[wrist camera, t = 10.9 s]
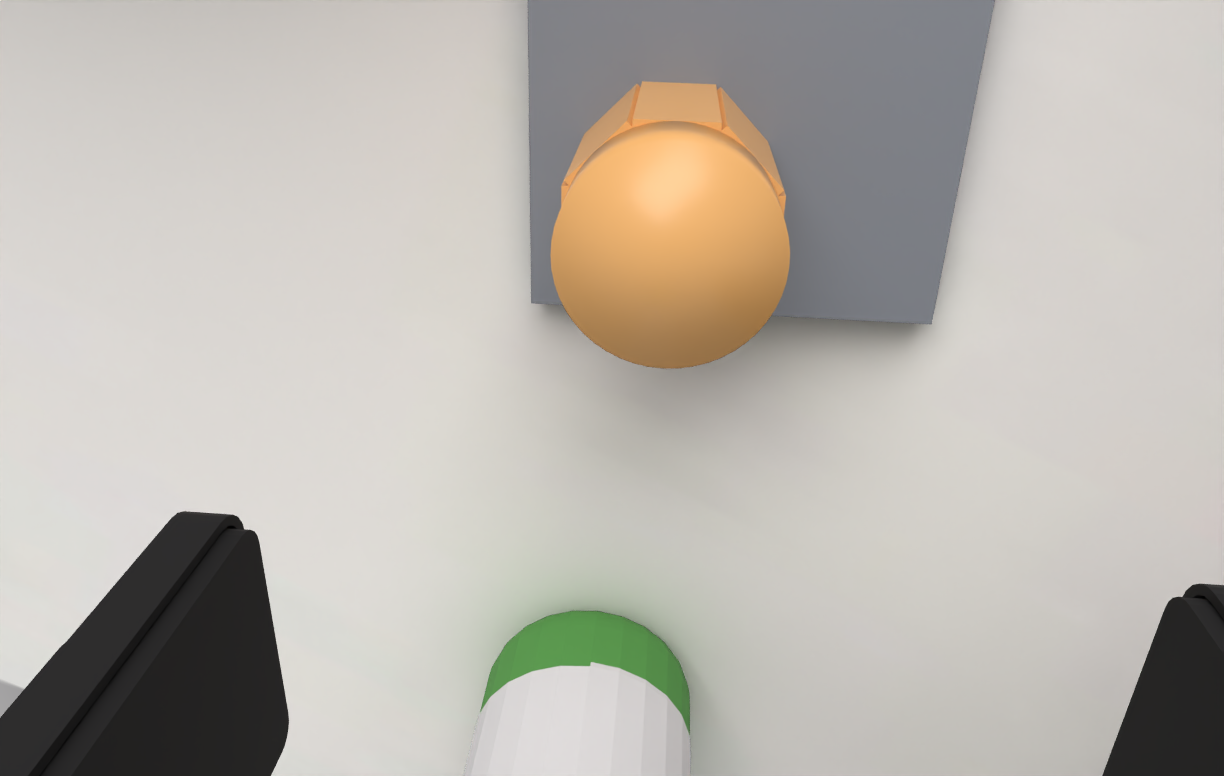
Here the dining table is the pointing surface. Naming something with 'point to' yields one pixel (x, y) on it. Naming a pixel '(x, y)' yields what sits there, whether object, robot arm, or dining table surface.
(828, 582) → the dining table surface
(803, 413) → the dining table surface
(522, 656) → the wine bottle
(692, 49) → the board
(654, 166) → the orange dome-topped faceted piece
